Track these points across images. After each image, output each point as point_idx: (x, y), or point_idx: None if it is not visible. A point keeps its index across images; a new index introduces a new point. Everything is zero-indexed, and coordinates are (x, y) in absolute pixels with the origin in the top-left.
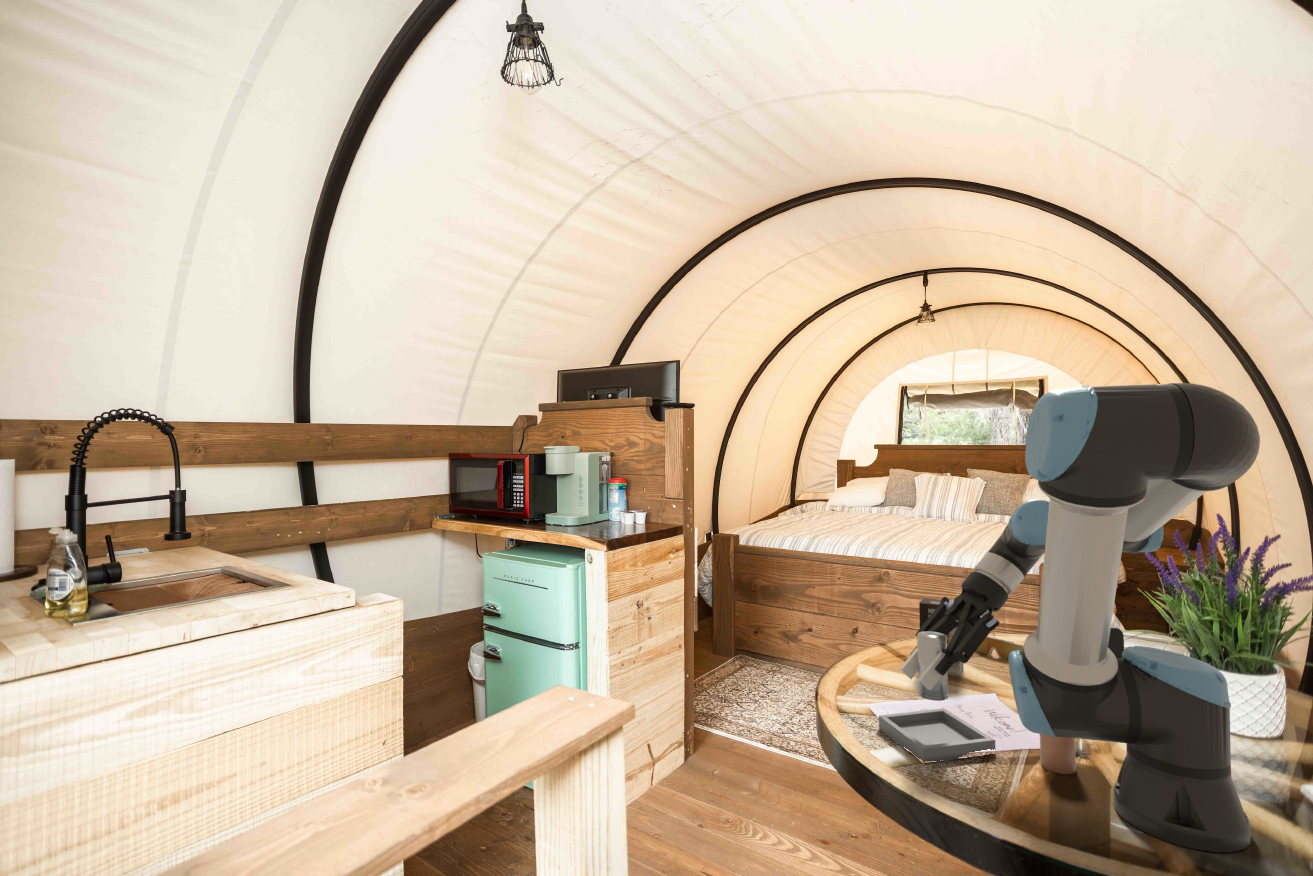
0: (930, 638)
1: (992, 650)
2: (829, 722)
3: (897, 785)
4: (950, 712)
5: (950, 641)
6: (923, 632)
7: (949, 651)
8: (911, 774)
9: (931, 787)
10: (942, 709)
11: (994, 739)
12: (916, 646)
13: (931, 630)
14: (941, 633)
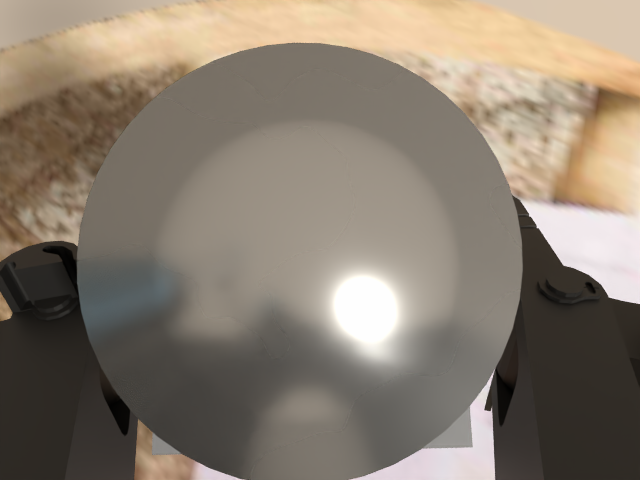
0: (164, 141)
1: None
2: (518, 20)
3: (89, 30)
4: (426, 447)
5: (64, 417)
6: (469, 209)
7: (10, 305)
8: (131, 97)
9: (52, 112)
10: (461, 432)
11: (156, 454)
12: (547, 247)
13: (598, 438)
14: (347, 471)
